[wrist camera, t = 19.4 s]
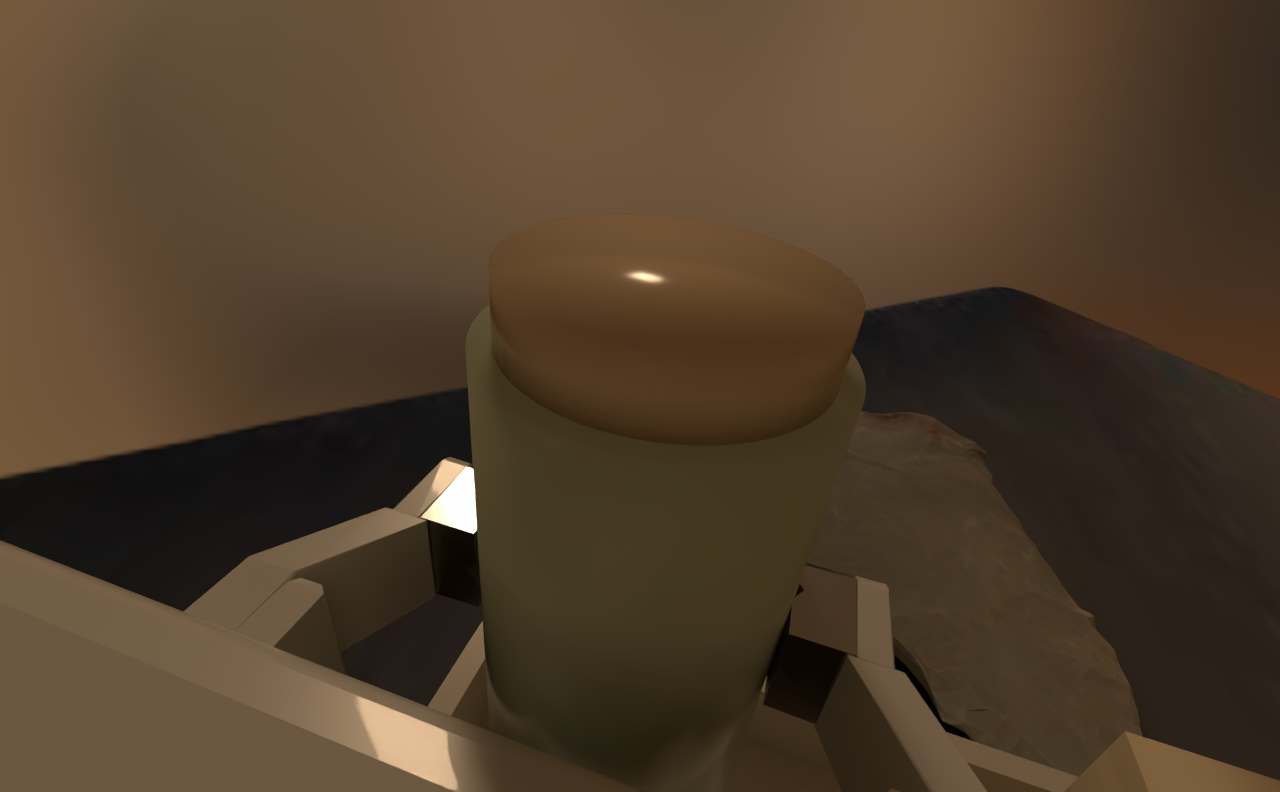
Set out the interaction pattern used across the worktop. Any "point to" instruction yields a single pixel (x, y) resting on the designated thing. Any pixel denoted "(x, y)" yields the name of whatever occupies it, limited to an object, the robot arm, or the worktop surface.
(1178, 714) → the worktop surface
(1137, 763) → the birch block
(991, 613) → the stone tool
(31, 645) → the robot arm
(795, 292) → the sage jar
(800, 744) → the beige tray
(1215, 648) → the worktop surface
